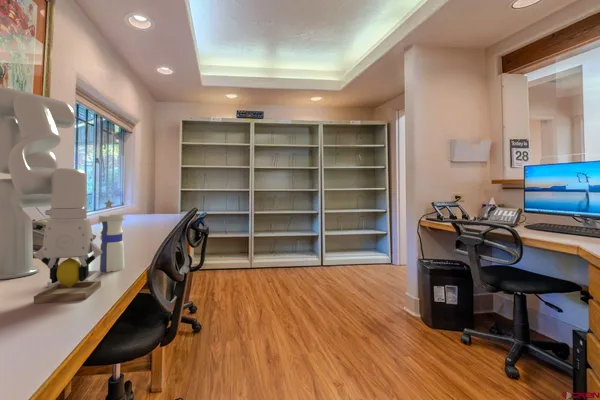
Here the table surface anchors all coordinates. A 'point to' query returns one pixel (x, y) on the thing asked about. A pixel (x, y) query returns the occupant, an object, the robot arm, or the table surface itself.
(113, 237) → the water bottle
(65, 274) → the lemon
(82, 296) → the tray
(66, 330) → the table surface
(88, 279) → the frame
